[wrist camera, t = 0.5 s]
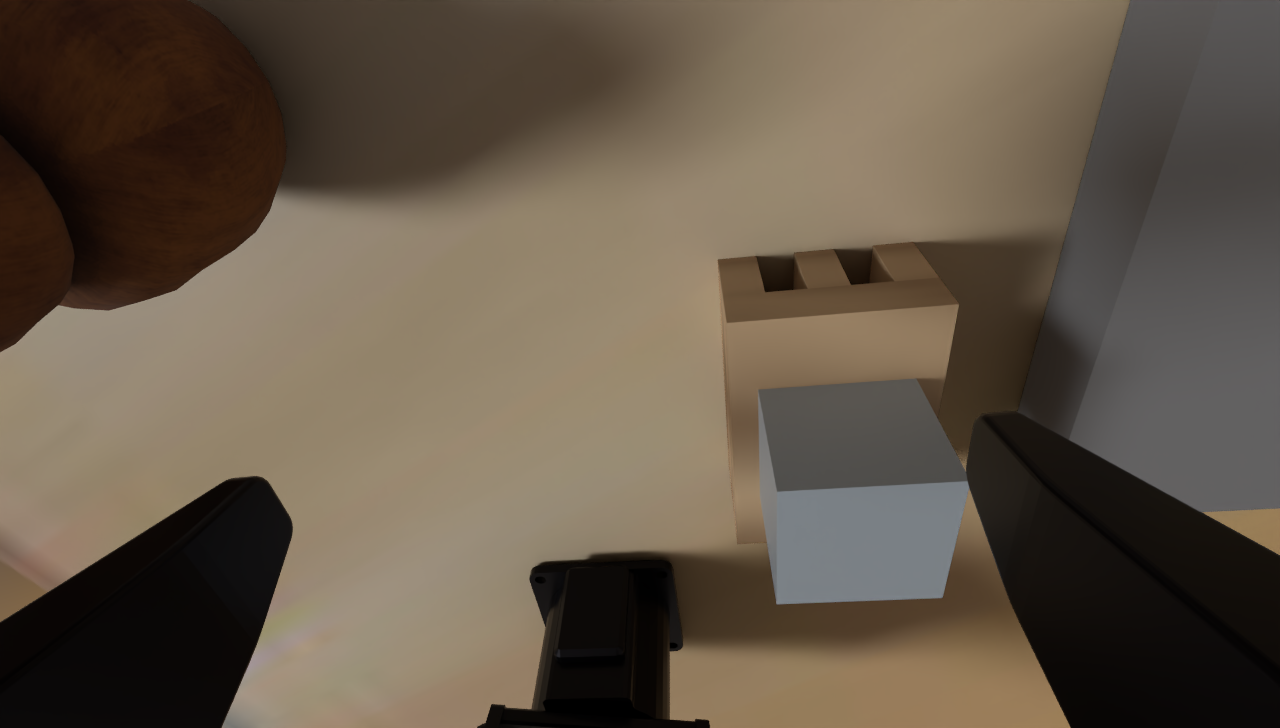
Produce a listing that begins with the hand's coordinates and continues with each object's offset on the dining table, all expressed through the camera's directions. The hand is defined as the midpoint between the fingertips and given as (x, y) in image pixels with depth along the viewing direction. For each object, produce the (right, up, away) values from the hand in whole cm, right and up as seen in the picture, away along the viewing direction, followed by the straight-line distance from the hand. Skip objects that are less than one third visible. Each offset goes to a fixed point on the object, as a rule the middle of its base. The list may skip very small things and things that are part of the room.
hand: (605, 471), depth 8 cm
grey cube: (+6, -1, +11) cm, 13 cm away
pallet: (+6, +1, +15) cm, 16 cm away
